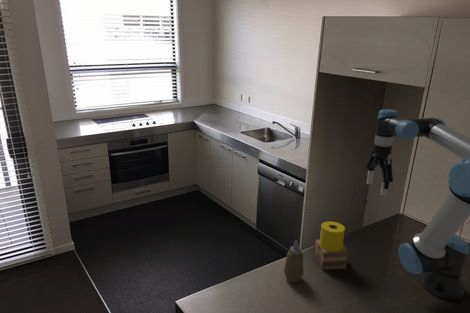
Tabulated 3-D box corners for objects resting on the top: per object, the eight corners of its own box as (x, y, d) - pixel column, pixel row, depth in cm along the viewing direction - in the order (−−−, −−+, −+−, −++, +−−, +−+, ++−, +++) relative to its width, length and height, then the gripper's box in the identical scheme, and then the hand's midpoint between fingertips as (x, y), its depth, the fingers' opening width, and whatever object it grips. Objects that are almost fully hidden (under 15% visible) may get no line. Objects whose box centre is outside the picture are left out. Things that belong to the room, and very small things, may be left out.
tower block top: (347, 260, 158) (348, 251, 157) (323, 261, 157) (324, 252, 156) (337, 247, 169) (338, 238, 167) (314, 248, 167) (315, 239, 166)
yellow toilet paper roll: (314, 242, 164) (316, 223, 161) (332, 238, 168) (334, 219, 165) (329, 253, 155) (331, 234, 152) (347, 248, 159) (349, 229, 156)
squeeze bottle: (306, 278, 152) (310, 241, 146) (295, 287, 146) (299, 248, 141) (290, 270, 157) (293, 233, 152) (279, 278, 151) (282, 240, 146)
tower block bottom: (345, 269, 160) (347, 260, 158) (321, 270, 158) (322, 261, 157) (336, 255, 170) (337, 247, 169) (314, 256, 169) (315, 248, 168)
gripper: (406, 152, 148) (398, 200, 154) (377, 137, 171) (371, 179, 178) (389, 152, 147) (381, 200, 153) (362, 137, 171) (357, 179, 177)
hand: (376, 189), depth 166 cm, fingers open, 13 cm apart
